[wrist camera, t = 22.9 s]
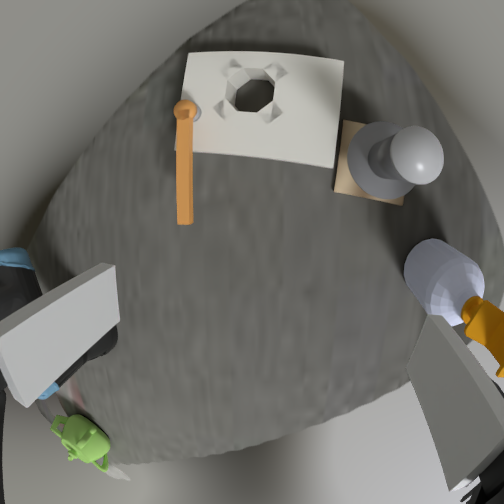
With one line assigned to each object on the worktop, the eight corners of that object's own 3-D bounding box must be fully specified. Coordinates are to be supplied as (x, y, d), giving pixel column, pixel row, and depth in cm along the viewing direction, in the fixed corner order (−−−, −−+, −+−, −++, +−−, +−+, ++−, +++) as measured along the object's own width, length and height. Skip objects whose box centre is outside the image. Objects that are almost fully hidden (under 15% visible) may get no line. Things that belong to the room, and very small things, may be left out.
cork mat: (333, 191, 37) (334, 191, 36) (343, 120, 34) (343, 119, 33) (401, 205, 35) (402, 205, 35) (410, 136, 32) (412, 136, 32)
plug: (333, 179, 36) (348, 183, 20) (354, 118, 33) (383, 80, 17) (392, 205, 35) (443, 230, 19) (413, 146, 32) (475, 133, 16)
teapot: (101, 419, 66) (77, 449, 52) (123, 455, 71) (105, 482, 58) (63, 403, 70) (40, 427, 56) (86, 438, 75) (67, 461, 62)
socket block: (189, 151, 39) (169, 149, 33) (201, 64, 35) (184, 49, 29) (329, 168, 36) (334, 168, 30) (340, 73, 32) (345, 57, 26)
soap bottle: (421, 227, 36) (526, 297, 12) (461, 254, 35) (560, 332, 12) (392, 279, 39) (458, 392, 15) (433, 302, 38) (505, 407, 15)
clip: (178, 102, 31) (174, 100, 30) (197, 100, 30) (193, 98, 29) (178, 222, 35) (174, 224, 34) (197, 223, 35) (193, 224, 34)
